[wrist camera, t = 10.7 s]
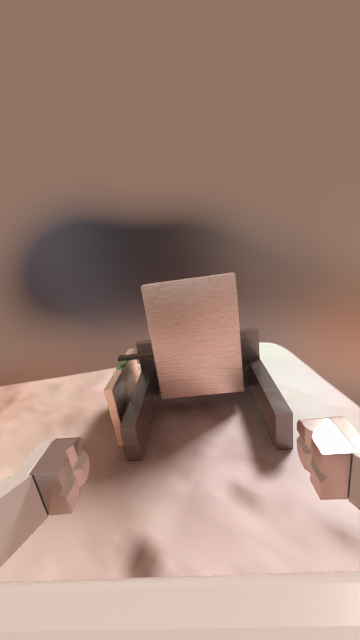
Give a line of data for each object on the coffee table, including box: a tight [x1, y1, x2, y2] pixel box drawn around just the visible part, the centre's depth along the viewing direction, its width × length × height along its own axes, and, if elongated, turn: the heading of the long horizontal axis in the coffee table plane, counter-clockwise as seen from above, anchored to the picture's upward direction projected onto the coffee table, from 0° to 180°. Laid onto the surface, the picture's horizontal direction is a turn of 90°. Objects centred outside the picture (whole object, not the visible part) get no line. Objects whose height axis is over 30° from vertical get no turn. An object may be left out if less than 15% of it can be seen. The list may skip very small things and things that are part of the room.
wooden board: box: [118, 273, 244, 399], centre depth 29 cm, size 14×2×14 cm, turn 88°
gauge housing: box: [104, 328, 293, 461], centre depth 28 cm, size 18×12×8 cm
